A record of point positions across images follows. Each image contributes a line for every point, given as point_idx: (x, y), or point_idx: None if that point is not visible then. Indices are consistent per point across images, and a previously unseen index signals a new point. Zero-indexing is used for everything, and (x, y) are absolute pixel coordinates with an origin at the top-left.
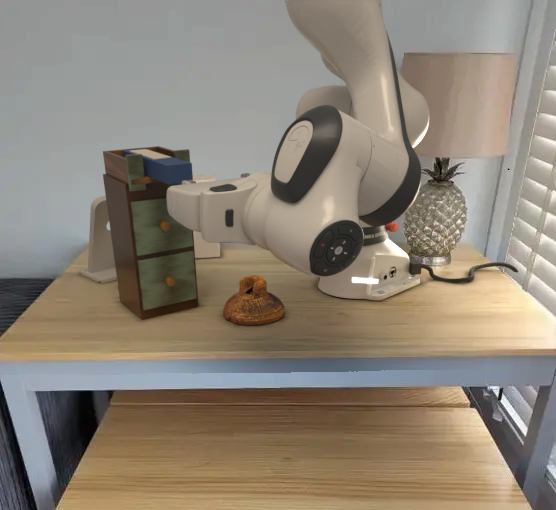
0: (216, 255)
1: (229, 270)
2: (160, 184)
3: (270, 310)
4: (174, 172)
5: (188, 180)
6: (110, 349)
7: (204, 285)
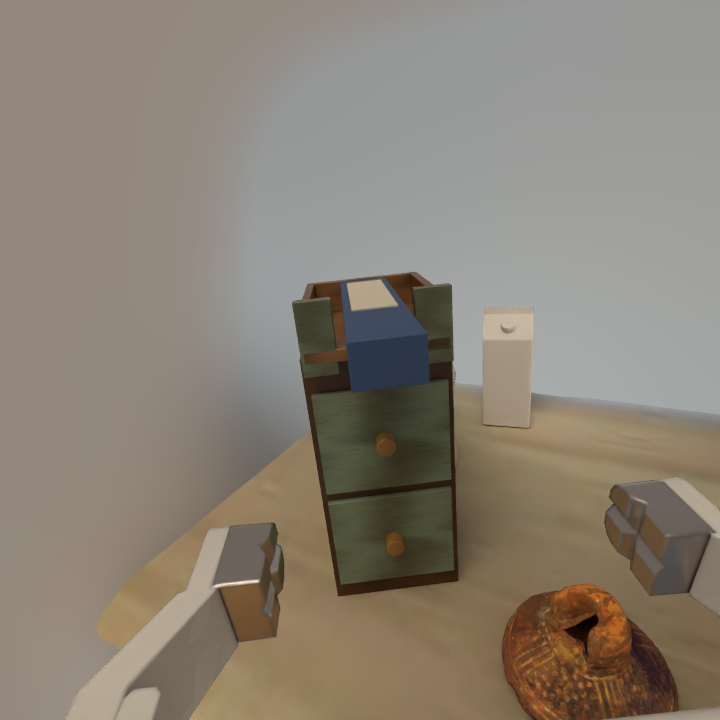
0: (522, 425)
1: (539, 467)
2: None
3: None
4: (370, 360)
5: (238, 536)
6: (220, 713)
7: (487, 503)
